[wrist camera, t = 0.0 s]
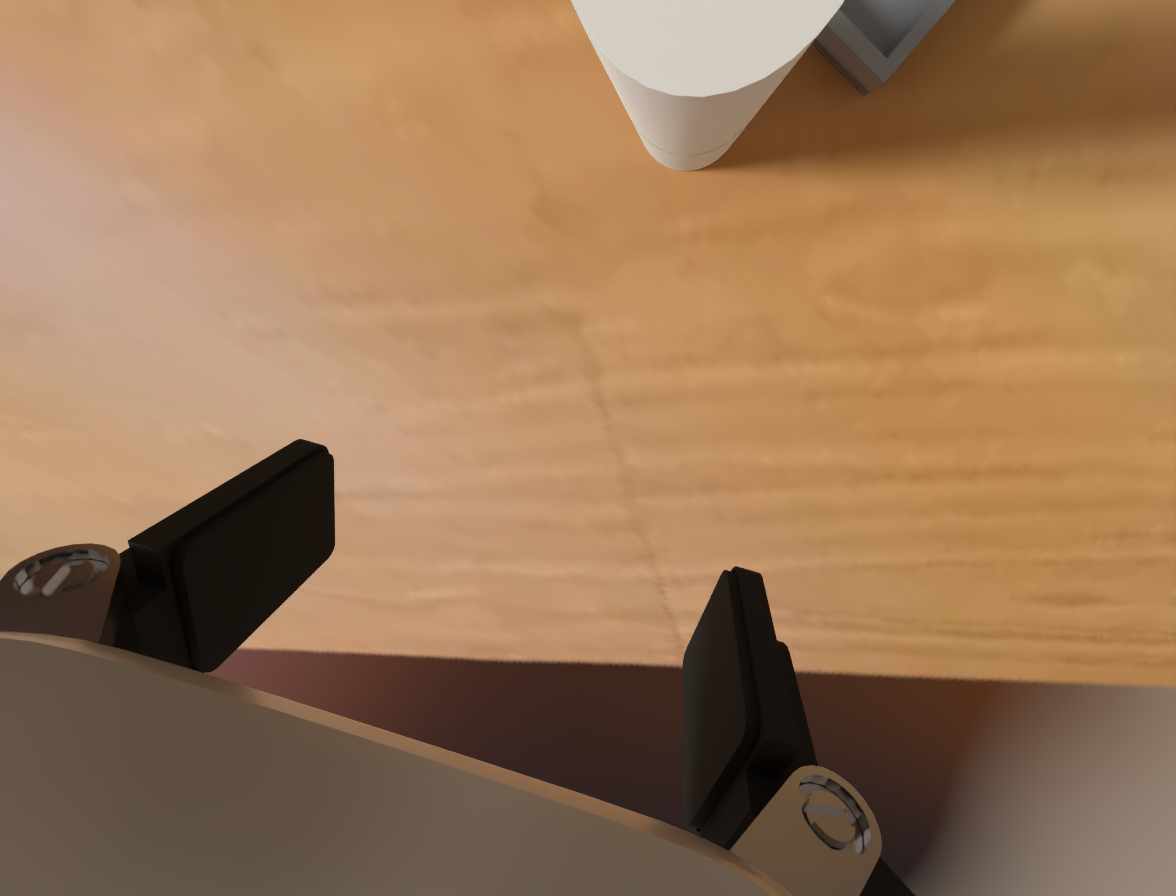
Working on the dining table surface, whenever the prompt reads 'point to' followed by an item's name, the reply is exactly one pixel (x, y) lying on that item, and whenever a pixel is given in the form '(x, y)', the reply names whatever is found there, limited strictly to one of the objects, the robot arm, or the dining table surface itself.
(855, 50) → the tray
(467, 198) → the dining table surface
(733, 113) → the cylindrical container
